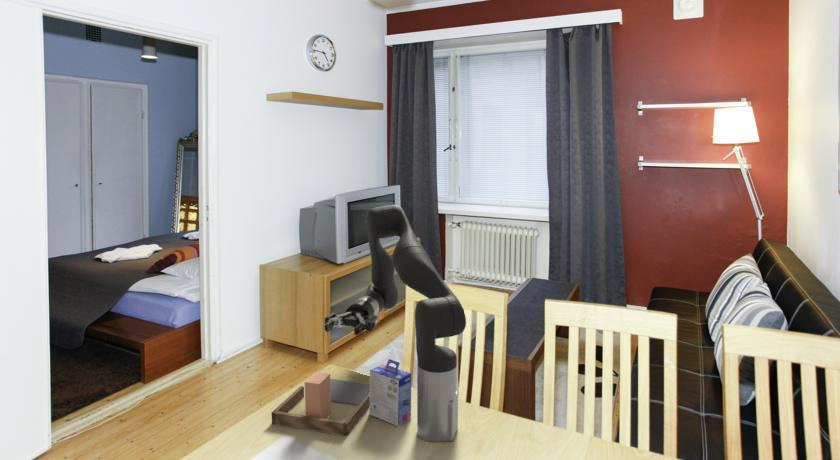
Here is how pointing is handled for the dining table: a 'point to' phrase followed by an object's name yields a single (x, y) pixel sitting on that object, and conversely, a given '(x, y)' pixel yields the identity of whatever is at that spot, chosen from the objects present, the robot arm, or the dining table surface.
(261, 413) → the dining table surface
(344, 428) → the walnut open frame
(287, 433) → the dining table surface
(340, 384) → the charcoal mat
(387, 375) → the ink cartridge box
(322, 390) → the tall peach block
